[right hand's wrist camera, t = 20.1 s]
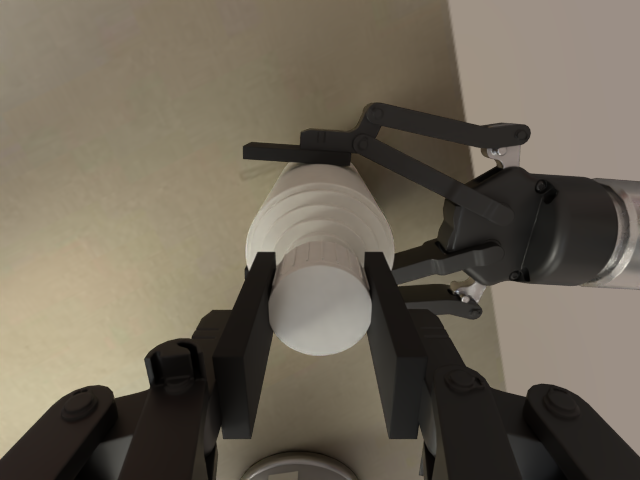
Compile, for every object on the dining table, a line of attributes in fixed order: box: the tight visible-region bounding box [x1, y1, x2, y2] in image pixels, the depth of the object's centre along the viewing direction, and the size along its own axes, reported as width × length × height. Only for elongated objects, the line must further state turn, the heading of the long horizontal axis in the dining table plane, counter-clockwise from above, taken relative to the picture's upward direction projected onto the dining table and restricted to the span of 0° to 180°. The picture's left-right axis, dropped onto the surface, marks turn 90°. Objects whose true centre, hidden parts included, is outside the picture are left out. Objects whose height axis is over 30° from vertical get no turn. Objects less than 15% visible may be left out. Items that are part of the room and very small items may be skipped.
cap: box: [268, 240, 372, 356], centre depth 14 cm, size 4×4×2 cm
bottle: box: [246, 162, 395, 270], centre depth 21 cm, size 7×7×18 cm
